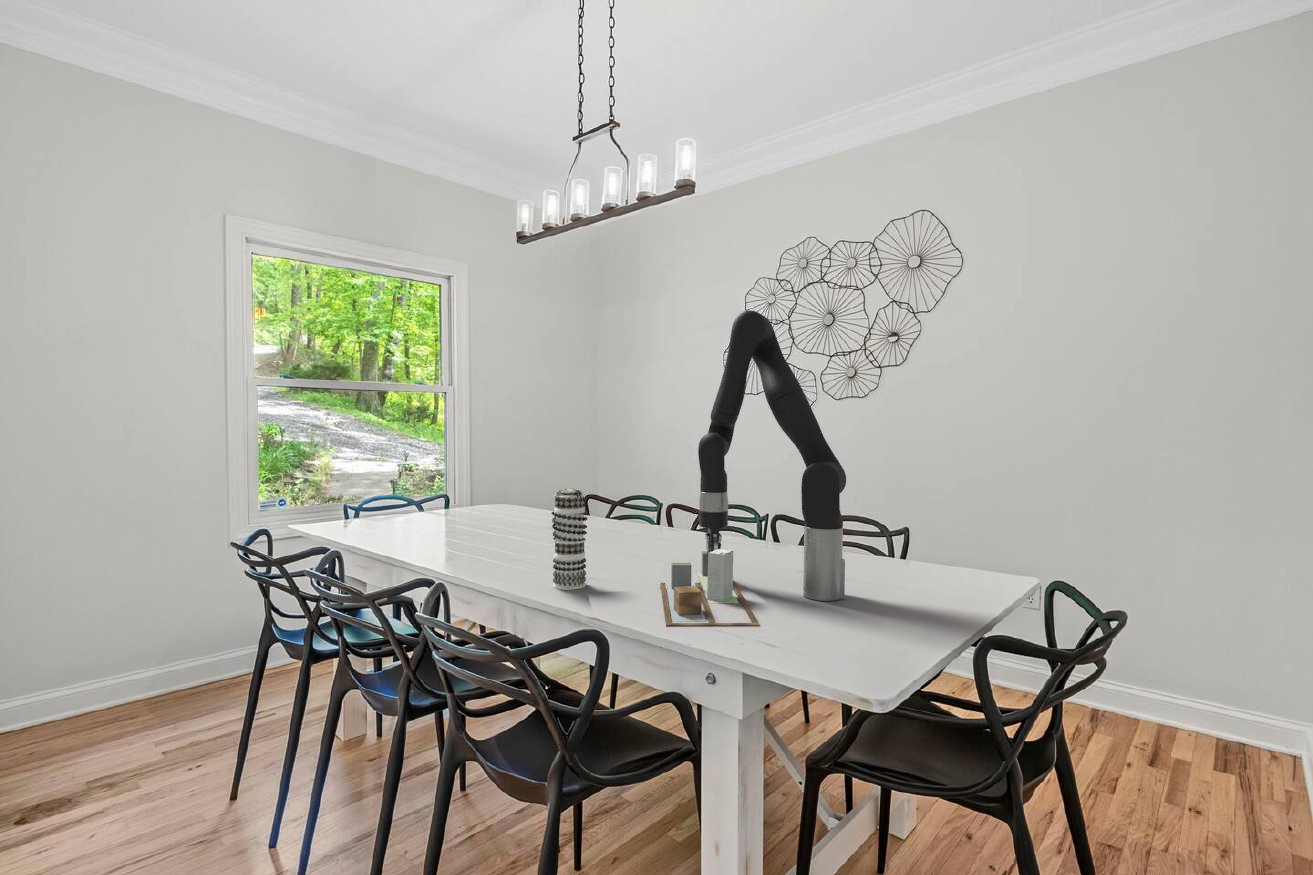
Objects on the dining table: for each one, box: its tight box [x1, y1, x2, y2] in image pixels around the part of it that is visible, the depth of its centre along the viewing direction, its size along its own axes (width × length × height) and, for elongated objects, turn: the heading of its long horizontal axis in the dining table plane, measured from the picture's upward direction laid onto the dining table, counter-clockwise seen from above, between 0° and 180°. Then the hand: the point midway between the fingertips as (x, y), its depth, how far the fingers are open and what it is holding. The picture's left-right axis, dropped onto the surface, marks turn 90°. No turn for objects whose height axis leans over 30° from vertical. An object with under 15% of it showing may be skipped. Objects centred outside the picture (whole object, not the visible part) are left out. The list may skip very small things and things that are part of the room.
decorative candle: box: [551, 488, 589, 591], centre depth 176 cm, size 9×9×25 cm
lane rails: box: [659, 582, 761, 628], centre depth 156 cm, size 19×35×2 cm, turn 2°
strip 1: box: [666, 562, 707, 623], centre depth 157 cm, size 7×30×7 cm, turn 2°
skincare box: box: [706, 548, 734, 602], centre depth 161 cm, size 6×4×12 cm
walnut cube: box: [674, 585, 703, 616], centre depth 149 cm, size 5×5×5 cm
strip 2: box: [697, 551, 740, 604], centre depth 171 cm, size 7×30×7 cm, turn 2°
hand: (713, 574), depth 179 cm, fingers closed
